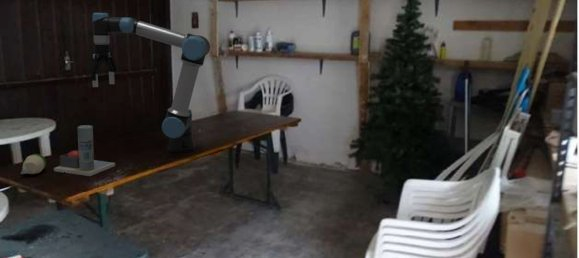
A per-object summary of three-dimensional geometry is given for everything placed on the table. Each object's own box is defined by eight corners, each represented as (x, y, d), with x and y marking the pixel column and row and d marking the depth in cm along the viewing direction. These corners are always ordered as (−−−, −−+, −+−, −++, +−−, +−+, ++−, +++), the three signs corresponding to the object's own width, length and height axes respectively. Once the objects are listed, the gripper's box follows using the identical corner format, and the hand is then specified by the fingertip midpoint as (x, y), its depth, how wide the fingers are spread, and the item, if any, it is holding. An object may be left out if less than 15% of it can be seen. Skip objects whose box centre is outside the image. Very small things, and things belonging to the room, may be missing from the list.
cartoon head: (21, 185, 217) (39, 170, 236) (39, 174, 217) (55, 160, 236) (9, 169, 215) (27, 155, 234) (27, 158, 214) (44, 145, 234)
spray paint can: (78, 170, 225) (76, 128, 221) (80, 166, 231) (78, 125, 227) (93, 170, 227) (92, 128, 222) (94, 166, 233) (93, 125, 228)
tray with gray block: (114, 165, 240) (114, 153, 239) (90, 176, 223) (89, 162, 222) (80, 161, 246) (80, 148, 244) (54, 171, 229) (53, 157, 228)
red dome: (86, 163, 237) (86, 149, 235) (76, 167, 230) (75, 153, 229) (74, 162, 239) (73, 148, 237) (64, 166, 232) (63, 151, 231)
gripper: (110, 42, 262) (112, 82, 267) (78, 44, 239) (81, 87, 243) (122, 43, 260) (124, 83, 265) (92, 45, 237) (94, 88, 241)
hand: (103, 85), depth 254 cm, fingers open, 13 cm apart
